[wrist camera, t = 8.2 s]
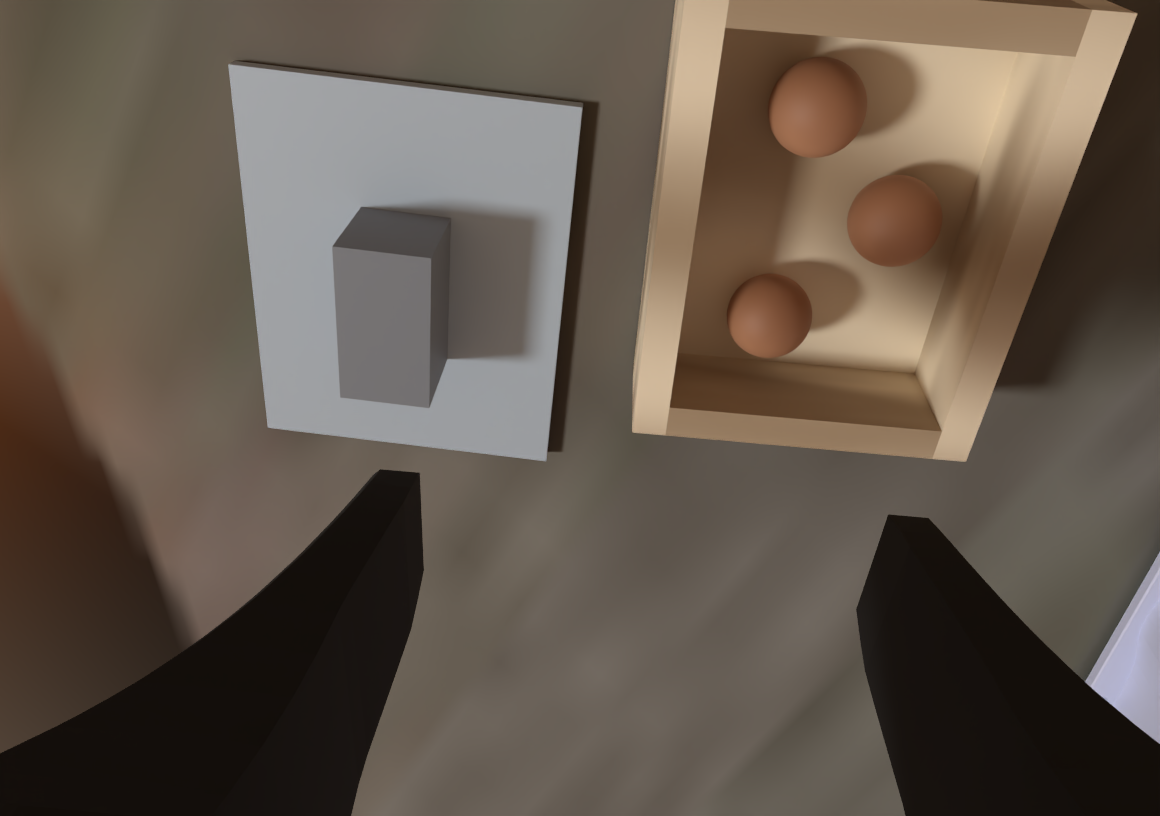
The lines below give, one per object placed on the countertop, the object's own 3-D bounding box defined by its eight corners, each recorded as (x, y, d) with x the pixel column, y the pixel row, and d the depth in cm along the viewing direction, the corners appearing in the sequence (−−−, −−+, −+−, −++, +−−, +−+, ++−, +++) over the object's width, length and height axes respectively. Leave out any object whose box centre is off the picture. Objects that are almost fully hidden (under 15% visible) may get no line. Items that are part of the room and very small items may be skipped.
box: (930, 389, 24) (965, 461, 22) (633, 363, 24) (632, 432, 22) (1067, -17, 19) (1137, 13, 16) (681, -48, 19) (687, -24, 16)
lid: (549, 440, 27) (537, 515, 24) (279, 408, 27) (235, 479, 24) (584, 96, 21) (575, 139, 18) (245, 54, 21) (182, 92, 18)
